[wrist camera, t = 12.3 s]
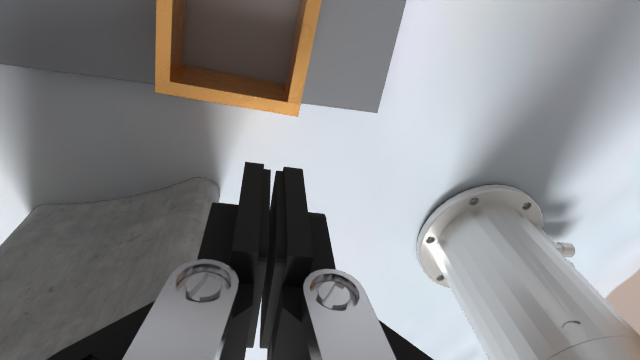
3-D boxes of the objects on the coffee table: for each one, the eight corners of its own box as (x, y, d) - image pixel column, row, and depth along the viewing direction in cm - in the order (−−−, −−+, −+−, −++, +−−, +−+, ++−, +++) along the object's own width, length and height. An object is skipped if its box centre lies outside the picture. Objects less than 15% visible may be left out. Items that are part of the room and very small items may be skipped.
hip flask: (214, 174, 33) (153, 420, 15) (226, 212, 35) (185, 467, 18) (23, 207, 32) (-255, 499, 15) (48, 245, 34) (-172, 537, 17)
